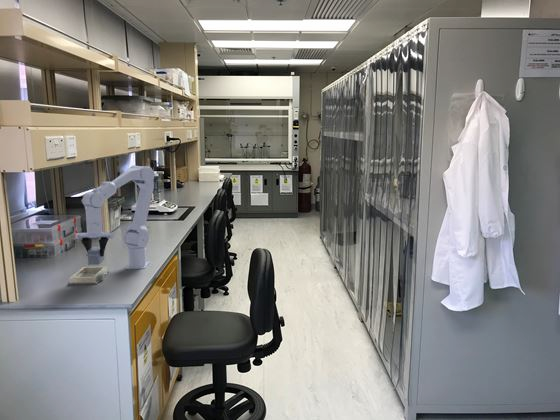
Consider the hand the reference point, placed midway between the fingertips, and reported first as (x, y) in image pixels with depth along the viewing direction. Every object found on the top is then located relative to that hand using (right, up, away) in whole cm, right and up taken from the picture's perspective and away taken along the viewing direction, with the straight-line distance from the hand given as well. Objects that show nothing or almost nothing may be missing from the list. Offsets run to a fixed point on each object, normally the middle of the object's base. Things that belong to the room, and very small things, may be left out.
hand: (96, 256), depth 176 cm
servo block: (0, -3, 0) cm, 3 cm away
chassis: (-3, -9, +1) cm, 10 cm away
